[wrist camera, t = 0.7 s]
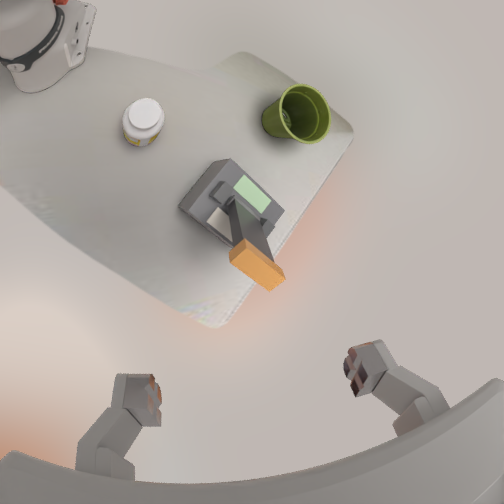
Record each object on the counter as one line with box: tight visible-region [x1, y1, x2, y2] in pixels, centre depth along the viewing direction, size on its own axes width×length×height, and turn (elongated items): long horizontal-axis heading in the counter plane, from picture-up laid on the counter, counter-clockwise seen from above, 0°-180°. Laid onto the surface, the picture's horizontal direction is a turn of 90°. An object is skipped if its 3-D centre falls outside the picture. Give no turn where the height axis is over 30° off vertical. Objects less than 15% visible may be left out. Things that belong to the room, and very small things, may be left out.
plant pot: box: [262, 84, 331, 144], centre depth 49 cm, size 12×12×11 cm
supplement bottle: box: [122, 98, 165, 146], centre depth 37 cm, size 7×7×13 cm
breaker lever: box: [226, 195, 285, 292], centre depth 38 cm, size 3×7×17 cm, turn 49°
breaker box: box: [178, 158, 285, 249], centre depth 48 cm, size 11×14×12 cm
